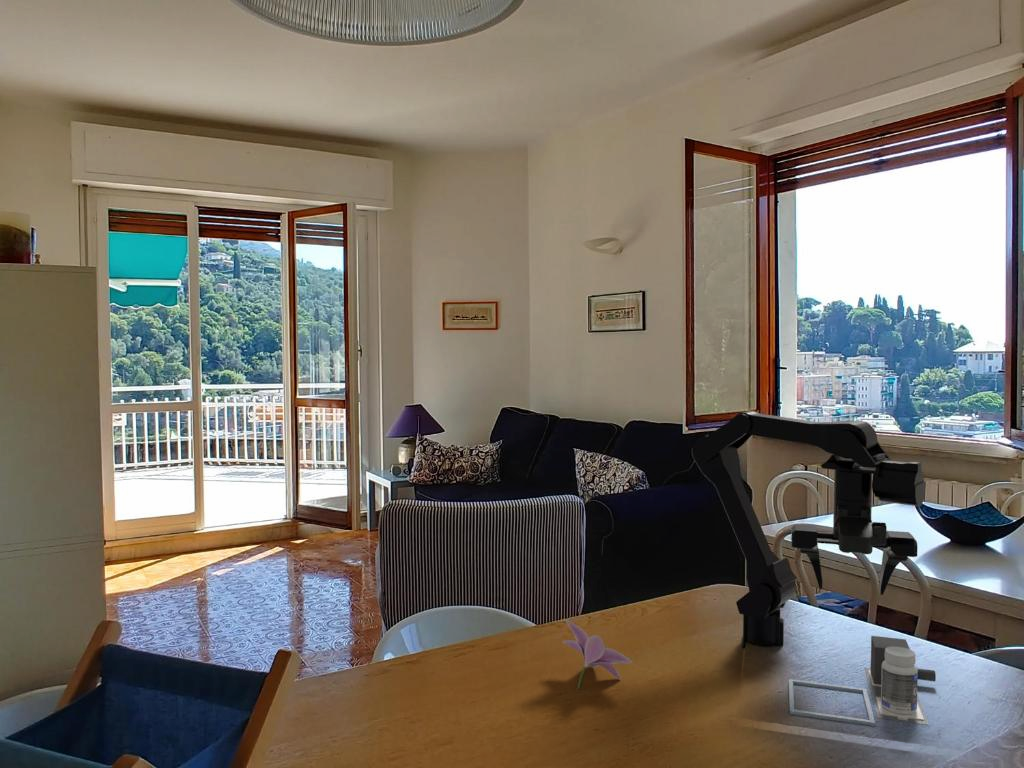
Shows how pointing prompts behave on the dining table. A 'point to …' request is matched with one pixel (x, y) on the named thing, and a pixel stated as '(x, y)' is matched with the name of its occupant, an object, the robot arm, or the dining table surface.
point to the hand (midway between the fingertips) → (850, 591)
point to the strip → (885, 714)
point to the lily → (594, 651)
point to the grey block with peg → (879, 656)
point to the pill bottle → (899, 681)
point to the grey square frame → (827, 716)
